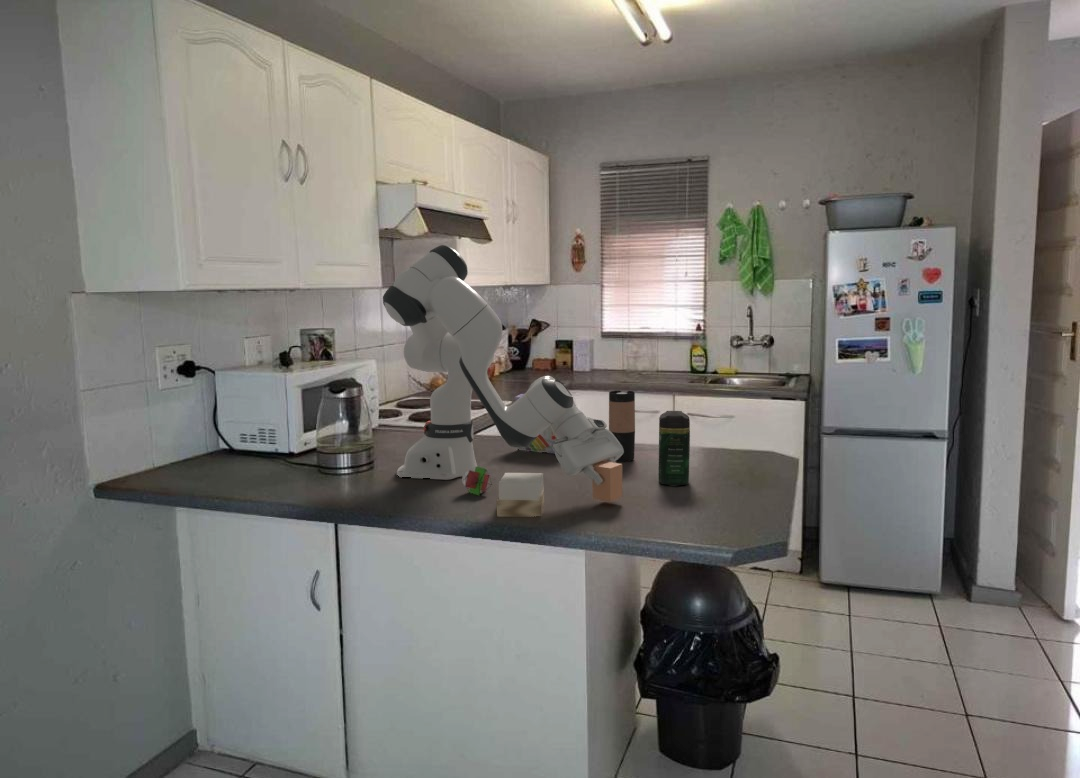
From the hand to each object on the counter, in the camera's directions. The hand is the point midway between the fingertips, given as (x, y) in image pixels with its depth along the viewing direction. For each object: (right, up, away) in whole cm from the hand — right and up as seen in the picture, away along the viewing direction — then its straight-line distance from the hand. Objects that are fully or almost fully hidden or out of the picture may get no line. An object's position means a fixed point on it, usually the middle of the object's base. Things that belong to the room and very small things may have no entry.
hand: (609, 479), depth 178 cm
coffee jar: (+19, -3, +20) cm, 27 cm away
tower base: (-21, -7, -2) cm, 22 cm away
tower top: (-21, -3, -3) cm, 21 cm away
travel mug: (+8, 0, +46) cm, 47 cm away
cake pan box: (-15, +2, +58) cm, 60 cm away
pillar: (0, -4, +1) cm, 4 cm away
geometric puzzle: (-32, -5, +13) cm, 35 cm away
